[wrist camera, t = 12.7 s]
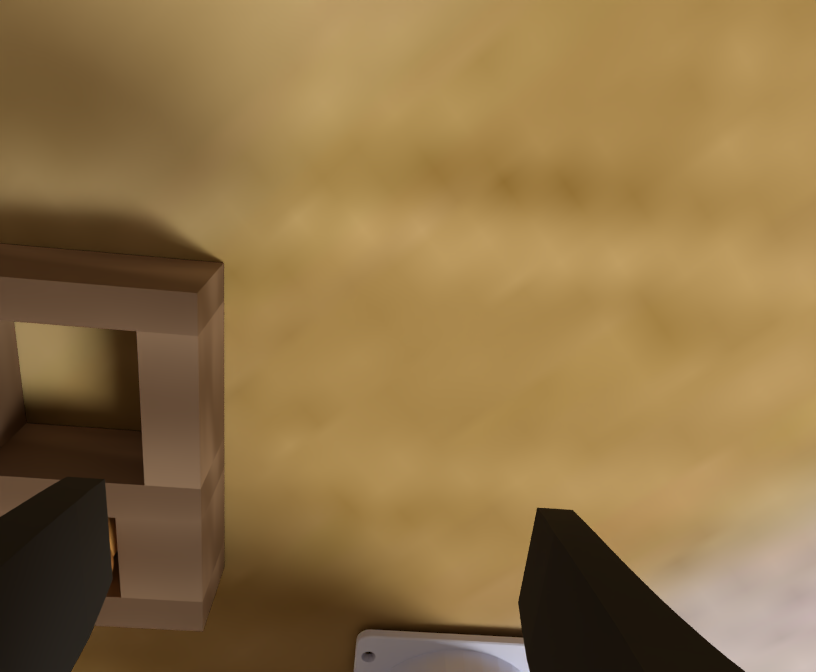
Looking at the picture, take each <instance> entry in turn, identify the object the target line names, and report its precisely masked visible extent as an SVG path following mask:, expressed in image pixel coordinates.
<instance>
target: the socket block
mask: <svg viewBox="0 0 816 672" xmlns="http://www.w3.org/2000/svg"><path fill="white" fill-rule="evenodd" d="M14 322H27V323H39V324H52V325H64V326H77V327H89V328H102V329H114V330H127V331H136V332H137V351H138V370H139V389H140V408H141V427H142V431H131V430H117V429H103V428H89V427H75V426H61V425H46V424H32V423H26V416H25V408H24V399H23V391H22V383H21V375H20V367H19V359H18V351H17V343H16V334H15V326H14ZM65 477H81V478H96V479H105V487H106V499H107V512H108V517H111V518H115V520H116V534H117V547H118V550H117V552H116V554H115V555H114V557H113V558H114V567H113V571H112V577H113V580H112V582H111V585H110V587H109V590H108V593H107V595H106V598H105V600H104V603H103V606H102V608H101V611H100V613H99V616H98V618H97V620H96V623H95V625H94V626H108V627H127V628H146V629H165V630H184V631H203V630H204V627H205V624H206V621H207V618H208V615H209V612H210V609H211V606H212V603H213V600H214V597H215V594H216V591H217V588H218V585H219V582H220V579H221V576H222V573H223V570H224V263H219V262H207V261H196V260H184V259H173V258H161V257H150V256H138V255H127V254H115V253H103V252H92V251H80V250H69V249H57V248H46V247H34V246H23V245H11V244H0V517H1V516H3V515H4V514H6V513H7V512H9V511H11V510H12V509H14V508H15V507H17V506H19V505H20V504H22V503H23V502H25V501H27V500H28V499H30V498H31V497H33V496H35V495H36V494H38V493H39V492H41V491H43V490H44V489H46V488H48V487H49V486H51V485H53V484H54V483H56V482H58V481H60V480H62V479H63V478H65Z"/></svg>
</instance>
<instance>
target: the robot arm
mask: <svg viewBox="0 0 816 672" xmlns="http://www.w3.org/2000/svg"><path fill="white" fill-rule="evenodd" d="M112 580H113V577H112V564H111V551H110V538H109V525H108V512H107V499H106V487H105V479H96V478H81V477H65V478H63V479H62V480H60V481H58V482H56V483H54V484H53V485H51V486H49V487H48V488H46V489H44V490H43V491H41V492H39V493H38V494H36V495H35V496H33V497H31V498H30V499H28V500H27V501H25V502H23V503H22V504H20V505H19V506H17V507H15V508H14V509H12V510H11V511H9V512H7V513H6V514H4V515H3V516H1V517H0V672H71V670H72V669H73V667H74V665H75V663H76V661H77V660H78V658H79V656H80V654H81V652H82V650H83V648H84V647H85V645H86V643H87V641H88V639H89V637H90V635H91V632H92V630H93V628H94V625H95V623H96V620H97V618H98V616H99V613H100V611H101V608H102V606H103V603H104V600H105V598H106V595H107V593H108V590H109V587H110V585H111V582H112ZM518 604H519V611H520V619H521V626H522V633H523V638H521V637H502V636H484V635H465V634H446V633H428V632H409V631H390V630H372V629H370V630H364V631H362V632H360V633H359V634H358V636H357V639H356V650H355V661H354V672H745V671H744V670H742V669H741V668H740V667H738V666H737V665H736V664H735V663H733V662H732V661H731V660H729V659H728V658H727V657H726V656H725V655H723V654H722V653H721V652H720V651H719V650H717V649H716V648H715V647H714V646H713V645H711V644H710V643H709V642H708V641H707V640H706V639H704V638H703V637H702V636H701V635H700V634H699V633H698V632H697V631H695V630H694V629H693V628H692V627H691V626H690V625H689V624H687V623H686V622H685V621H684V620H683V619H682V618H681V617H680V616H678V615H677V614H676V613H675V612H674V611H673V610H672V609H671V608H670V607H669V606H668V605H667V604H666V603H664V602H663V601H662V600H661V599H660V598H659V597H658V596H657V595H656V594H655V593H654V592H653V591H652V590H651V589H650V588H649V587H648V586H647V585H646V584H645V583H644V582H643V581H642V580H641V579H640V578H639V577H638V576H637V575H636V574H635V573H634V572H633V571H632V570H631V569H630V568H629V567H628V566H627V565H626V564H625V563H624V562H623V561H622V560H621V559H620V558H619V557H618V556H617V555H616V554H615V553H614V552H613V551H612V550H611V549H610V548H609V547H608V546H607V545H606V544H605V543H604V542H603V541H602V539H601V538H600V537H599V536H598V535H597V534H596V533H595V532H594V531H593V530H592V529H591V528H590V527H589V526H588V525H587V524H586V523H585V522H584V521H583V520H582V519H581V518H580V517H579V516H578V515H577V514H576V513H575V512H574V511H573V510H564V509H549V508H537V512H536V516H535V521H534V526H533V531H532V536H531V541H530V546H529V551H528V556H527V561H526V566H525V571H524V576H523V581H522V586H521V591H520V596H519V601H518ZM365 652H372V653H371V654H367V653H365Z"/></svg>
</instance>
